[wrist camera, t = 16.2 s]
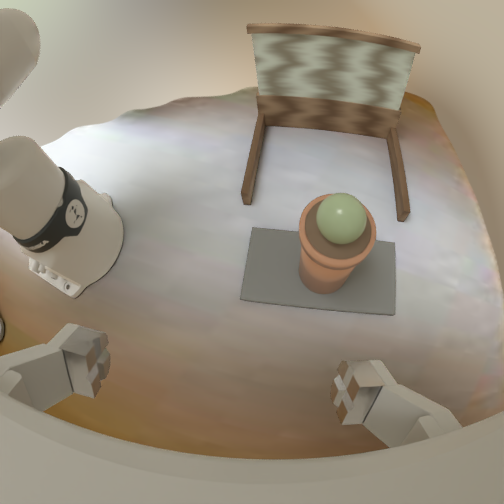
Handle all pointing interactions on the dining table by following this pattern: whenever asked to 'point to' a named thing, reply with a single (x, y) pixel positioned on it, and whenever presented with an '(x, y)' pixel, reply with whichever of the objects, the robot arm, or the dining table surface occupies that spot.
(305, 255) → the seedling pot
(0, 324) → the ceramic mug
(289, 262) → the potting mat
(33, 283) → the dining table surface
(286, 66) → the brown wooden frame
